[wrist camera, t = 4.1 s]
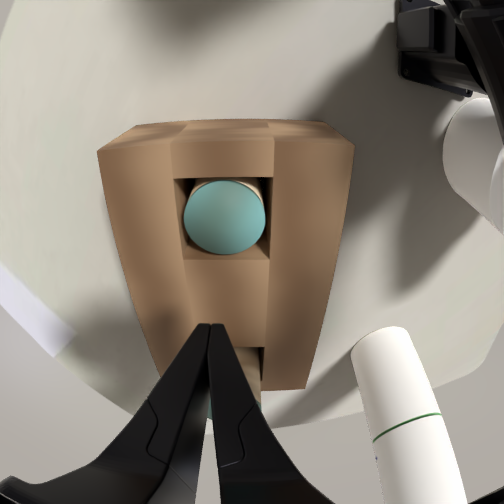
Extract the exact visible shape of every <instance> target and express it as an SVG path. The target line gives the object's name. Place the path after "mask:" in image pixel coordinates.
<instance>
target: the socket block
mask: <svg viewBox="0 0 504 504" xmlns="http://www.w3.org/2000/svg"><path fill="white" fill-rule="evenodd" d="M354 150H355V145H354V144H352V143H351V142H350V141H349V140H347V139H346V138H345V137H343V136H342V135H341V134H340V133H338V132H337V131H336V130H334V129H333V128H332V127H330V126H329V125H328V124H326V123H325V122H319V121H303V120H281V119H215V120H193V121H177V122H165V123H154V124H144V125H136V126H134V127H133V128H131V129H130V130H128V131H126V132H125V133H123V134H122V135H120V136H119V137H117V138H115V139H114V140H112V141H111V142H109V143H108V144H106V145H105V146H103V147H102V148H100V149H99V150H98V151H97V155H98V161H99V167H100V173H101V178H102V184H103V189H104V194H105V199H106V203H107V208H108V213H109V217H110V221H111V225H112V230H113V234H114V238H115V242H116V246H117V249H118V253H119V257H120V260H121V264H122V268H123V271H124V275H125V278H126V281H127V285H128V288H129V291H130V294H131V297H132V301H133V304H134V307H135V310H136V313H137V316H138V319H139V322H140V324H141V327H142V330H143V333H144V336H145V338H146V341H147V344H148V346H149V349H150V352H151V354H152V357H153V359H154V362H155V365H156V367H157V370H158V372H159V374H160V377H162V375H163V374H164V372H165V371H166V369H167V368H168V366H169V365H170V363H171V362H172V361H173V359H174V358H175V356H176V355H177V353H178V352H179V350H180V349H181V347H182V346H183V345H184V343H185V342H186V340H187V339H188V337H189V336H190V334H191V333H192V331H193V330H194V329H195V327H196V326H197V324H199V323H209V324H212V323H222V324H224V326H225V328H226V331H227V333H228V335H229V338H230V340H231V343H232V345H233V347H259V367H260V390H261V391H276V390H296V389H305V387H306V384H307V380H308V377H309V373H310V370H311V366H312V362H313V359H314V355H315V351H316V347H317V344H318V340H319V336H320V332H321V328H322V324H323V320H324V316H325V312H326V307H327V303H328V299H329V294H330V290H331V285H332V281H333V276H334V271H335V266H336V261H337V256H338V251H339V246H340V241H341V235H342V230H343V224H344V218H345V212H346V206H347V200H348V194H349V187H350V180H351V173H352V166H353V158H354ZM203 177H265V178H264V212H265V226H264V230H263V232H262V234H261V236H260V238H259V239H258V240H257V242H256V243H254V244H253V245H252V246H251V247H249V248H248V249H246V250H244V251H242V252H239V253H235V254H216V253H212V252H209V251H207V250H205V249H203V248H201V247H200V246H198V245H197V244H196V243H195V242H194V241H193V240H192V239H191V237H190V236H189V234H188V233H187V231H186V228H185V224H184V212H185V208H186V205H187V202H188V200H189V197H190V195H191V192H192V190H193V187H194V185H195V178H203Z"/></svg>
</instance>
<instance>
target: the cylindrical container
mask: <svg viewBox="0 0 504 504" xmlns="http://www.w3.org/2000/svg"><path fill="white" fill-rule="evenodd" d="M351 361H352V364H353V368H354V372H355V375H356V379H357V383H358V387H359V390H360V394H361V398H362V402H363V406H364V410H365V414H366V418H367V422H368V426H369V431H370V435H371V440H372V444H373V448H374V453H375V458H376V463H377V467H378V472H379V477H380V482H381V488H382V493H383V499H384V504H467V500H466V496H465V491H464V487H463V483H462V480H461V476H460V472H459V469H458V465H457V462H456V459H455V455H454V451H453V449H452V445H451V442H450V439H449V436H448V433H447V430H446V427H445V424H444V421H443V418H442V416H441V413H440V410H439V407H438V404H437V401H436V399H435V396H434V394H433V391H432V388H431V386H430V383H429V381H428V378H427V376H426V373H425V371H424V369H423V366H422V364H421V361H420V359H419V357H418V354H417V352H416V350H415V348H414V345H413V343H412V341H411V339H410V336H409V334H408V332H407V331H406V330H405V329H403V328H401V327H386V328H382V329H379V330H376V331H374V332H372V333H370V334H368V335H366V336H365V337H363V338H362V339H361V340H360V341H358V342H357V343H356V345H355V346H354V347H353V349H352V351H351Z"/></svg>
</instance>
